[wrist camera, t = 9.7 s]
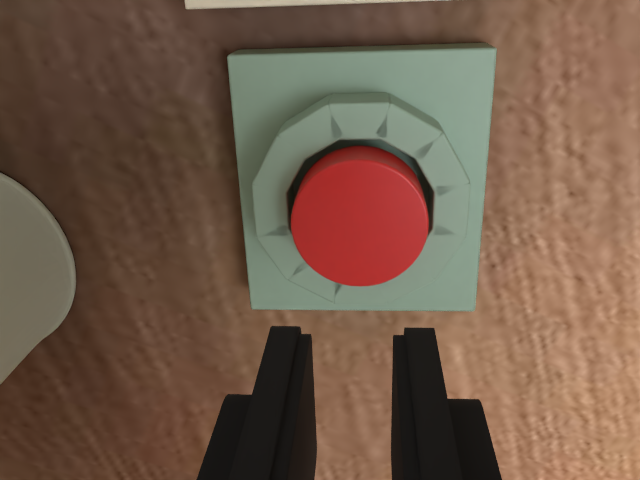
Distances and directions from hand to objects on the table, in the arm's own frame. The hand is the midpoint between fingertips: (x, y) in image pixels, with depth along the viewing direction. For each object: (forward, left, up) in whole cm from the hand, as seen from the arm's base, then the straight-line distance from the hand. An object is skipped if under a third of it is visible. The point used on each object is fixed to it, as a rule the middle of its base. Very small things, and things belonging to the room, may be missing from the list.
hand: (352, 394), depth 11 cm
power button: (0, 0, -10) cm, 10 cm away
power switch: (0, 0, -13) cm, 13 cm away
